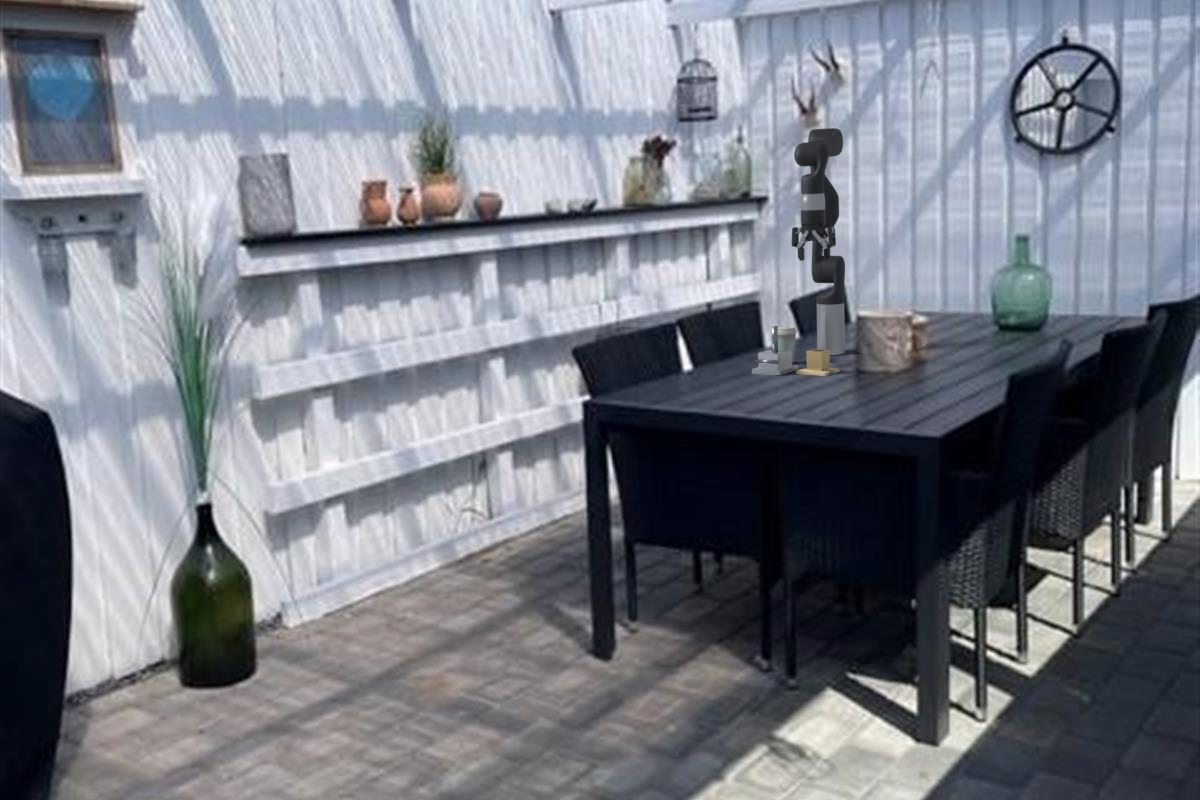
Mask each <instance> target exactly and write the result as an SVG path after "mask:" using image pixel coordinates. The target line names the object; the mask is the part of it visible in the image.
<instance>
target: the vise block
mask: <svg viewBox="0 0 1200 800" xmlns="http://www.w3.org/2000/svg"><path fill="white" fill-rule="evenodd" d="M778 326H779V325H773V326H772V325H771V326H770V327H771V329H770V330H771V331H770V333H771V334H772V336H771V349H768V350H764V351H760V352H757V359H755V360H754V363H757V365H758V367H754V368H751V374H752V375H761V376H762V375H763V376H775V375H781V376H783V375H782V374H784V375H787V374H786V373H788V374H790V373H789V372H791V373H793V372H792V371H794V372H796V370H800V368H799V367H800V366H799V364H798V365H797V364H796V365H795V364H792V350H780V349H778ZM771 334H770V335H771Z"/></svg>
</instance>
